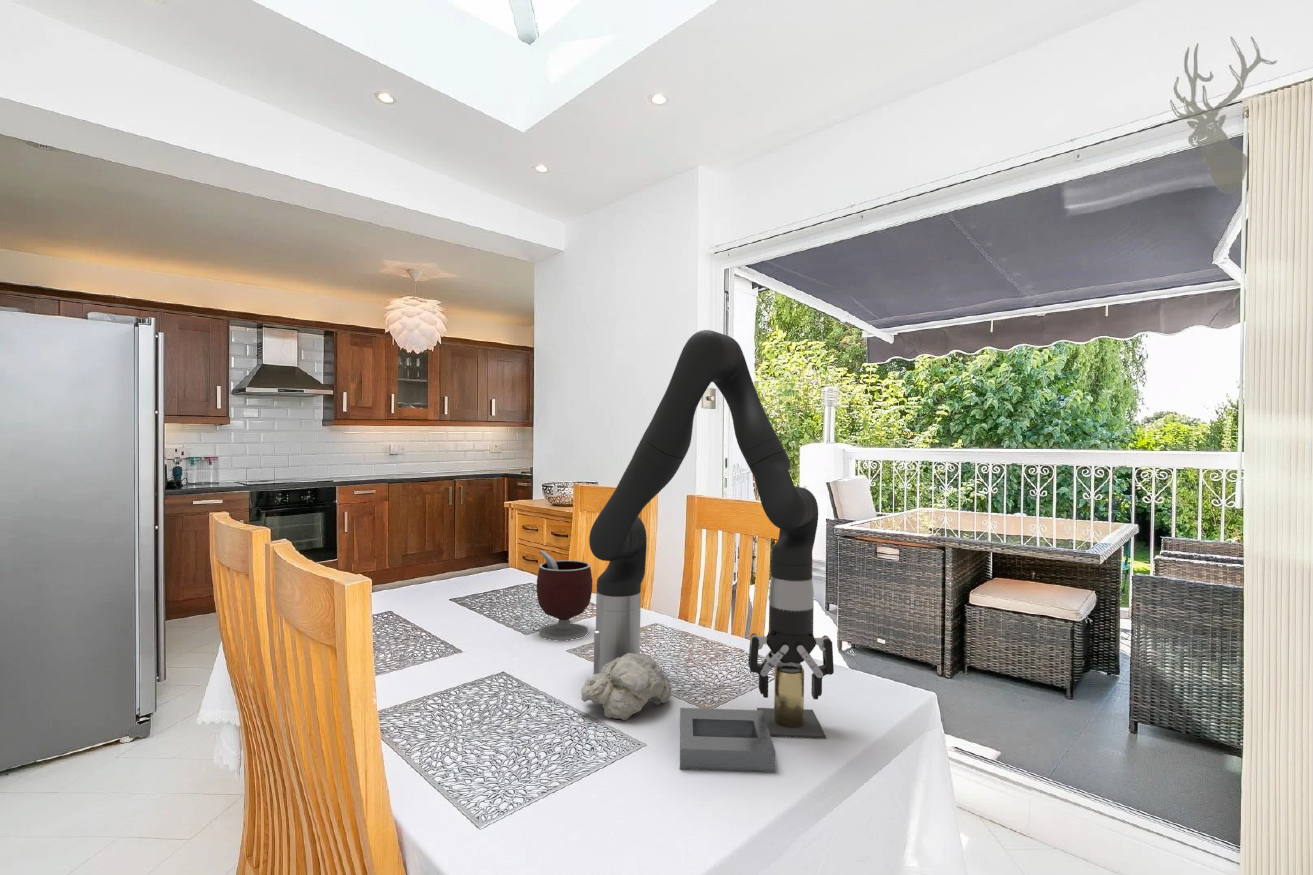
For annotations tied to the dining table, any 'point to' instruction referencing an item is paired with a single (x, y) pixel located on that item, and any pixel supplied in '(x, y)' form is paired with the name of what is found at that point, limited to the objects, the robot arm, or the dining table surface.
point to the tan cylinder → (789, 695)
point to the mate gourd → (563, 596)
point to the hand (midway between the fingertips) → (790, 696)
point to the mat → (807, 730)
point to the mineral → (627, 685)
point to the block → (725, 740)
